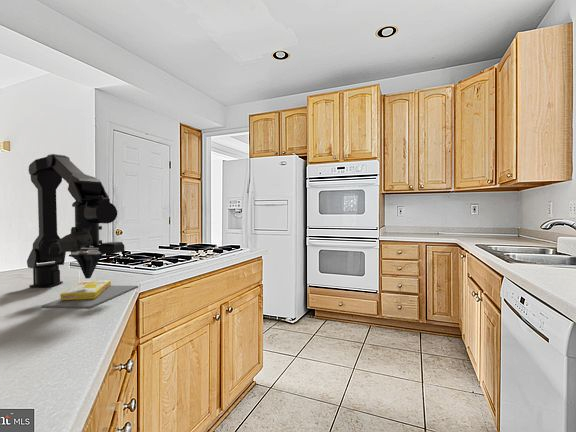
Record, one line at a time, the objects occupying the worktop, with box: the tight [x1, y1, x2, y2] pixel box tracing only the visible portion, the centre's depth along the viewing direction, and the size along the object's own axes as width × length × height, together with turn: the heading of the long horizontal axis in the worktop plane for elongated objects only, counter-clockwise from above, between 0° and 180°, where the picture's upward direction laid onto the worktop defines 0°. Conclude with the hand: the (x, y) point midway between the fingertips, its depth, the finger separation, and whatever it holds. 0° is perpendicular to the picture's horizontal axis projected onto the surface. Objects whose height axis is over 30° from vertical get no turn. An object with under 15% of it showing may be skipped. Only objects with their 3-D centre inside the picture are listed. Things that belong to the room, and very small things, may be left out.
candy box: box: [59, 279, 112, 300], centre depth 94 cm, size 16×2×8 cm
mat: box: [40, 284, 139, 309], centre depth 92 cm, size 13×22×1 cm, turn 176°
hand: (88, 278), depth 92 cm, fingers closed
